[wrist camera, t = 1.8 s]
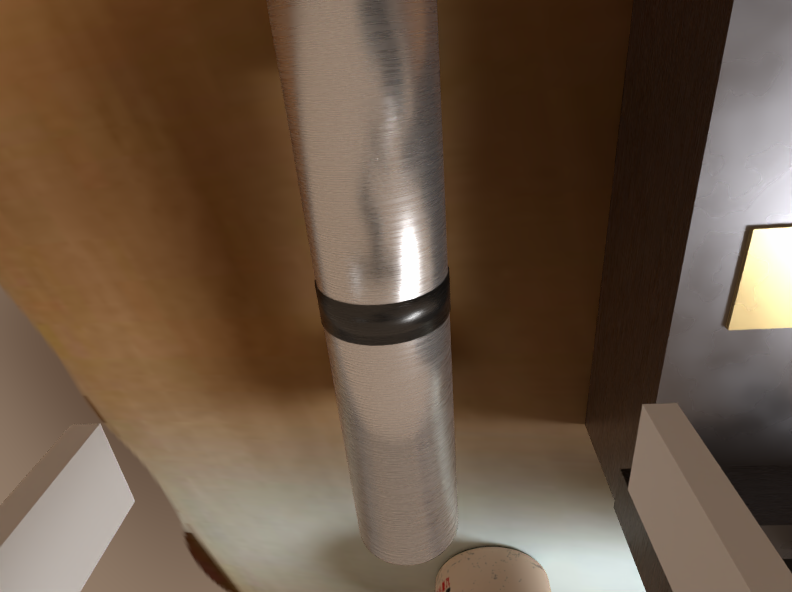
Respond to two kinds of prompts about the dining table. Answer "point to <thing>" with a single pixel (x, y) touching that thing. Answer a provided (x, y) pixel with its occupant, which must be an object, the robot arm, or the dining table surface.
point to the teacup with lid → (492, 572)
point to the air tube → (378, 252)
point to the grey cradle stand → (701, 255)
